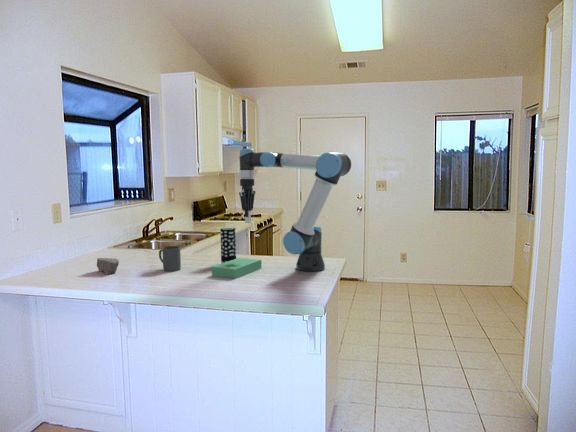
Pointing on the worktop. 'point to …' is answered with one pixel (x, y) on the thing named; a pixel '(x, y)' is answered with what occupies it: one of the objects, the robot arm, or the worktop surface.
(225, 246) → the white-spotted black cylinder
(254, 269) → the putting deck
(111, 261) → the stone
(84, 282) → the worktop surface
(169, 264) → the mug
